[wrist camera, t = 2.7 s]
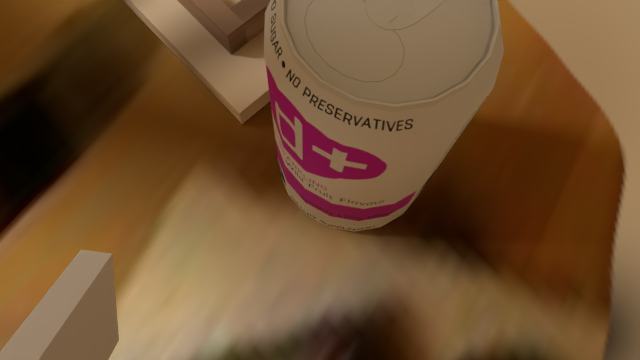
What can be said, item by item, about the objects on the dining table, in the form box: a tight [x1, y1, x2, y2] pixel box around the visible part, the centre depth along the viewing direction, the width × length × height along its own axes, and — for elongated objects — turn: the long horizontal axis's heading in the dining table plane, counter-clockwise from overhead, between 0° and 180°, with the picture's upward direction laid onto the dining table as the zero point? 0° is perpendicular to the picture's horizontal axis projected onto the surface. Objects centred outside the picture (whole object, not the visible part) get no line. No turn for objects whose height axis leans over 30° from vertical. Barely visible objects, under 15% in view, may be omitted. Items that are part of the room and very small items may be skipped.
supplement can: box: [264, 0, 504, 232], centre depth 25 cm, size 8×8×15 cm
